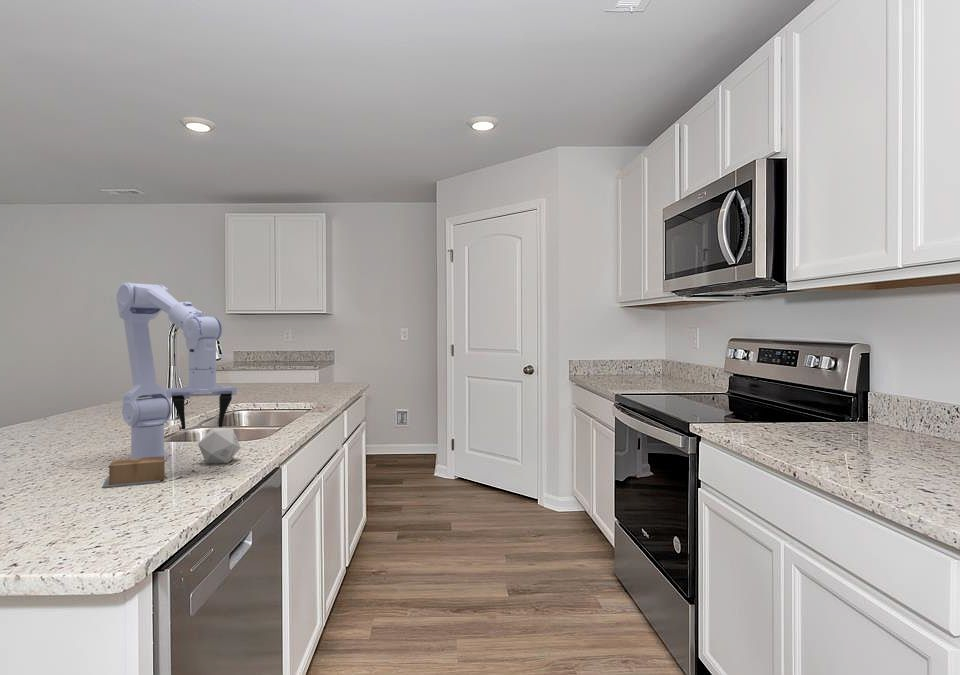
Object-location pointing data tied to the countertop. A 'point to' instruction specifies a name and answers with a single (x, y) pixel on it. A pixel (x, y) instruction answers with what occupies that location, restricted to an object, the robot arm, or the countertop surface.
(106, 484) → the mat
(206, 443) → the die
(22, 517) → the countertop surface
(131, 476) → the walnut block
